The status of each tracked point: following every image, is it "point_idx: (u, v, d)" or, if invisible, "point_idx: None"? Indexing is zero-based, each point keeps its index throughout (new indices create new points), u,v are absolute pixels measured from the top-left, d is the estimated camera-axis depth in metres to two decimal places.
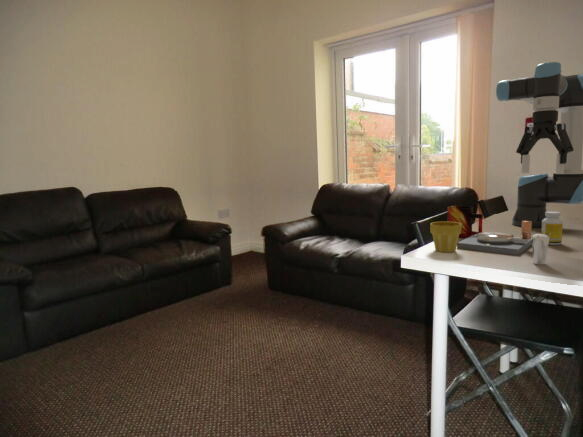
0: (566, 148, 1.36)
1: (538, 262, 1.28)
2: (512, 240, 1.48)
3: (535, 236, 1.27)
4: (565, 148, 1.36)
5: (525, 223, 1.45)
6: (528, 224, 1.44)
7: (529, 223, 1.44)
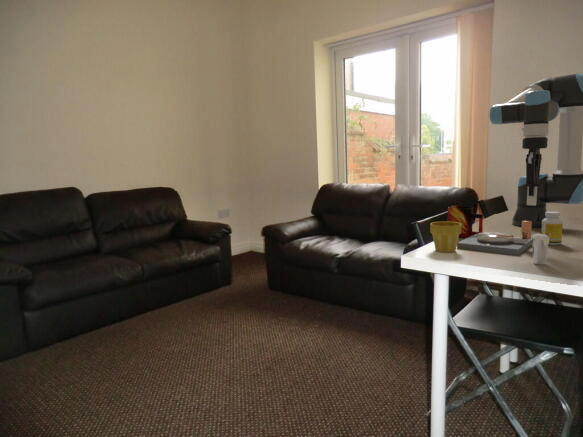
0: (526, 182, 1.46)
1: (538, 262, 1.28)
2: (512, 240, 1.48)
3: (535, 236, 1.27)
4: None
5: (525, 223, 1.45)
6: (528, 224, 1.44)
7: (529, 223, 1.44)
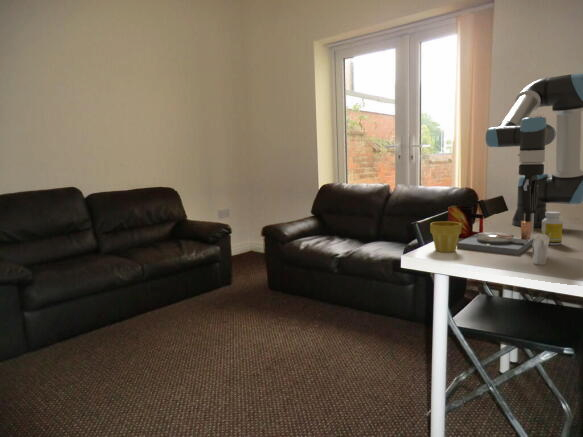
0: None
1: (538, 262, 1.28)
2: (511, 240, 1.48)
3: (535, 236, 1.27)
4: None
5: (524, 223, 1.44)
6: (526, 224, 1.44)
7: (528, 223, 1.44)
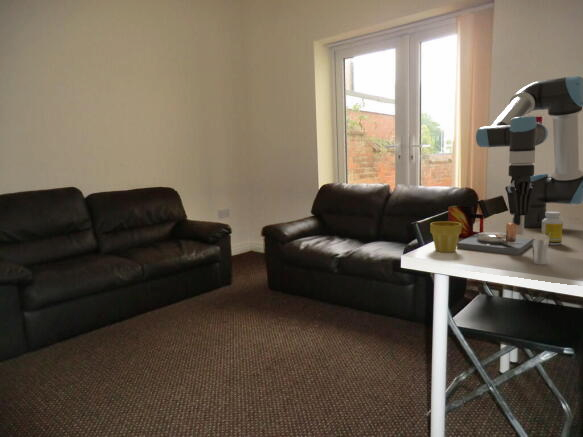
0: None
1: (538, 262, 1.28)
2: (500, 241, 1.47)
3: (535, 236, 1.27)
4: None
5: (506, 224, 1.43)
6: (508, 226, 1.42)
7: (510, 225, 1.41)
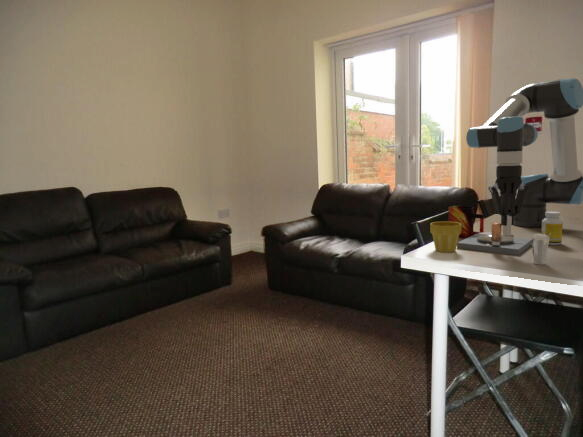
0: None
1: (538, 262, 1.28)
2: (491, 241, 1.48)
3: (535, 236, 1.27)
4: None
5: None
6: (492, 226, 1.43)
7: (493, 225, 1.43)
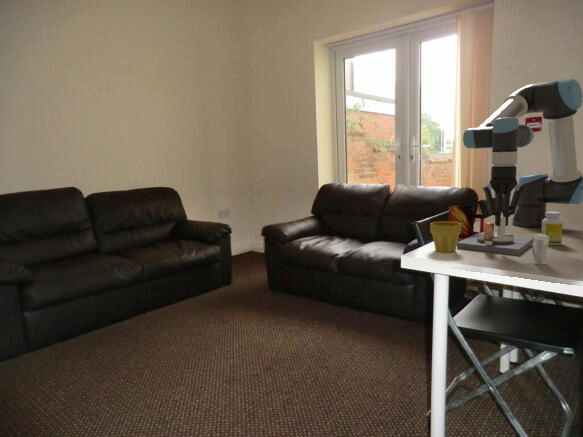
0: None
1: (538, 262, 1.28)
2: None
3: (535, 236, 1.27)
4: None
5: None
6: (484, 225, 1.45)
7: (485, 224, 1.44)
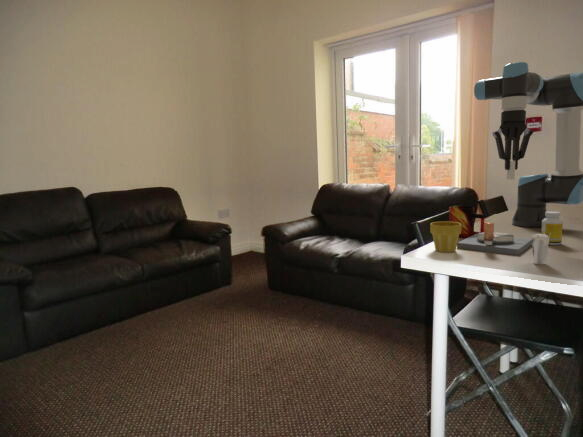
0: None
1: (538, 262, 1.28)
2: None
3: (535, 236, 1.27)
4: None
5: None
6: (484, 225, 1.45)
7: (485, 224, 1.44)
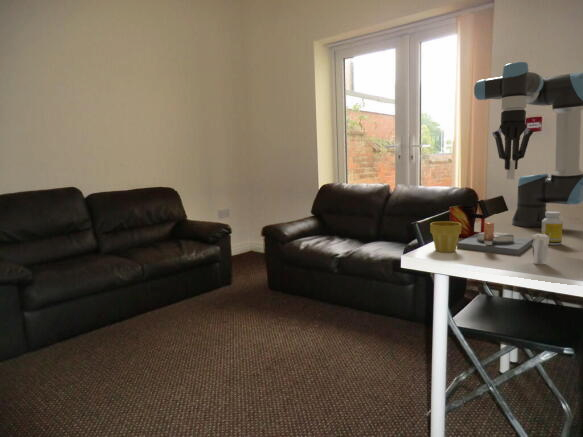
0: None
1: (538, 262, 1.28)
2: None
3: (535, 236, 1.27)
4: None
5: None
6: (484, 225, 1.45)
7: (485, 224, 1.44)
